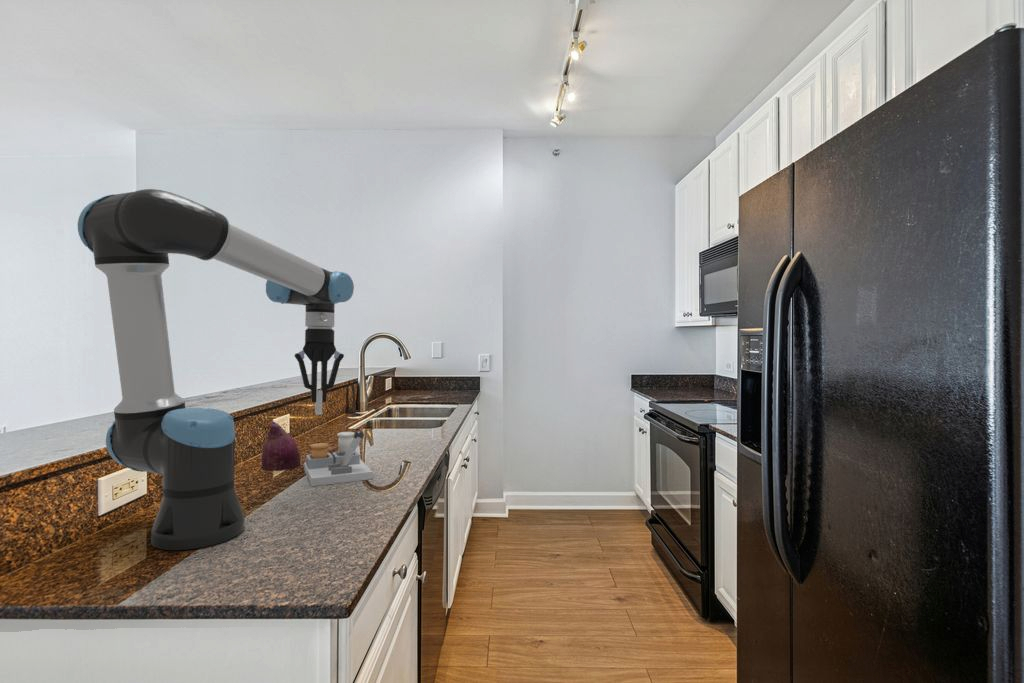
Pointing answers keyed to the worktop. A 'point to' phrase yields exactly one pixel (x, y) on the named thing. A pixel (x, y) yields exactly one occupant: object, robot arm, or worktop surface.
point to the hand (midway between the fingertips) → (318, 414)
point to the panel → (335, 469)
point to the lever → (352, 448)
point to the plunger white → (344, 441)
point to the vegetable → (279, 450)
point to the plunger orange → (319, 450)
